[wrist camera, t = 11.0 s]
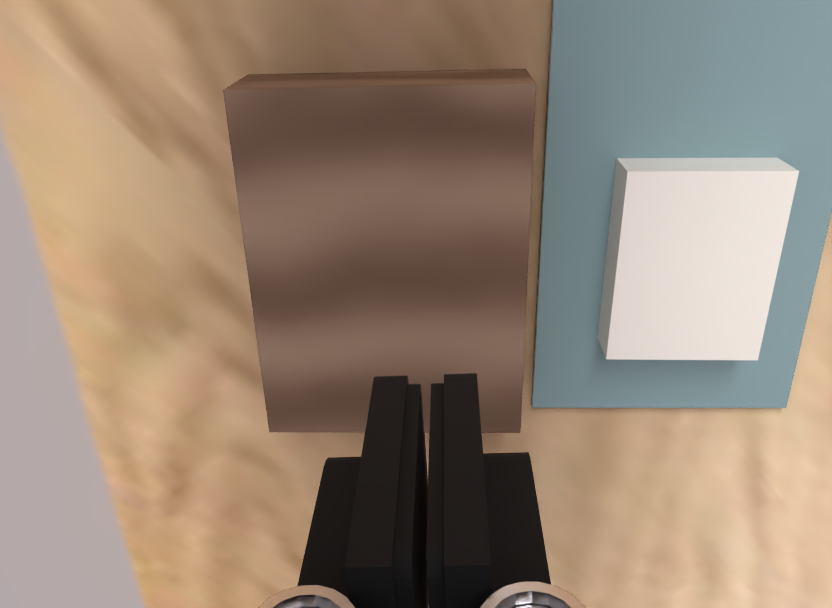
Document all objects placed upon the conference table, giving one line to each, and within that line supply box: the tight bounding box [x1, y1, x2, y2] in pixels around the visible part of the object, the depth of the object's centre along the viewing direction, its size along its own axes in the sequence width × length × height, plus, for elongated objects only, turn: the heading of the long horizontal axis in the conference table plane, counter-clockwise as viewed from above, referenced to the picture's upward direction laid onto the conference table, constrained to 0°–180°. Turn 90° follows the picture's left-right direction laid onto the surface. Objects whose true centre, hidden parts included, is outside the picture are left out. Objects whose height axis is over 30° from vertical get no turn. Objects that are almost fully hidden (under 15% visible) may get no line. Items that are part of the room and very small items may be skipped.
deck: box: [223, 69, 536, 433], centre depth 33 cm, size 16×12×4 cm
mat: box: [532, 0, 832, 408], centre depth 34 cm, size 20×13×1 cm, turn 1°
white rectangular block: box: [597, 158, 799, 360], centre depth 33 cm, size 9×7×2 cm
